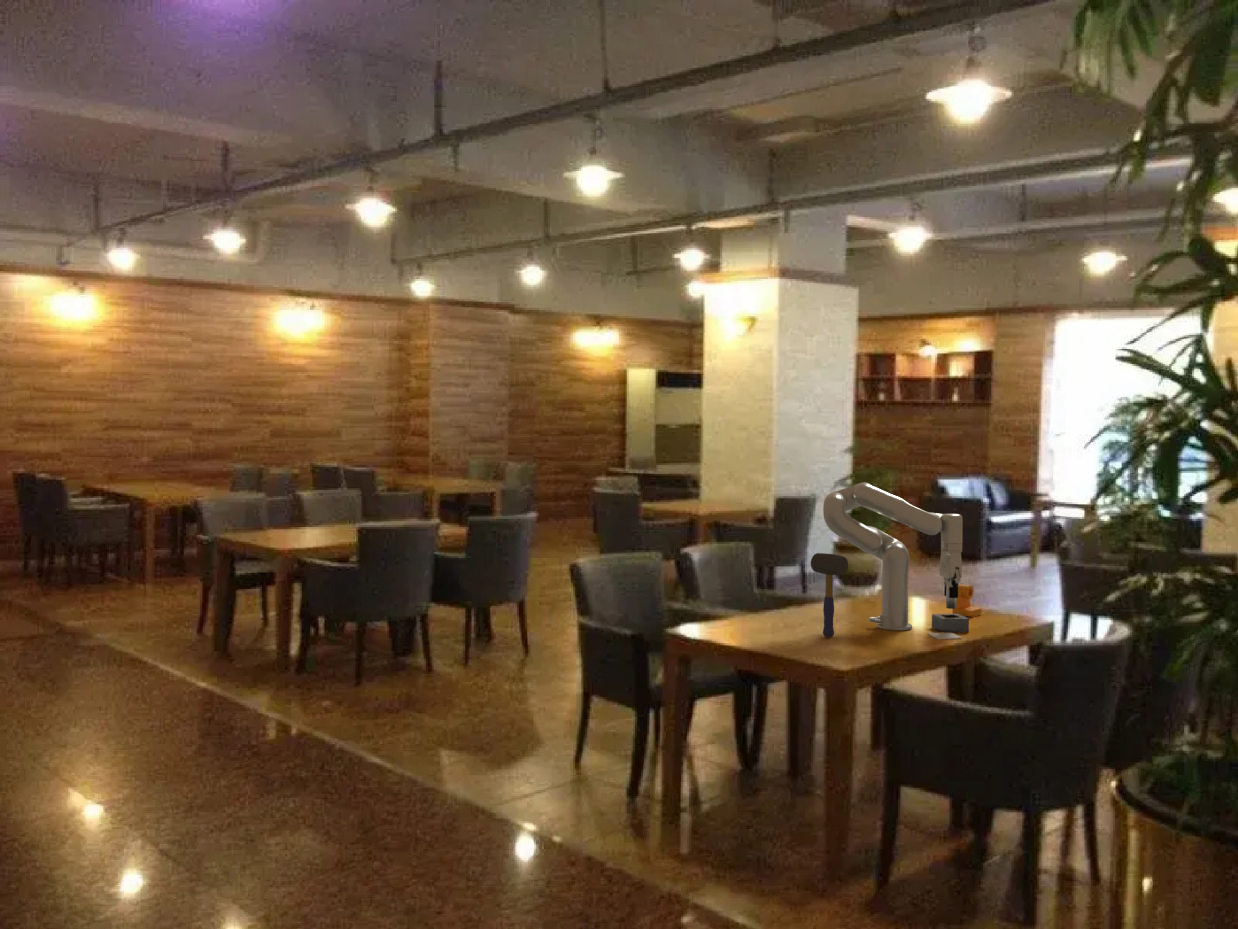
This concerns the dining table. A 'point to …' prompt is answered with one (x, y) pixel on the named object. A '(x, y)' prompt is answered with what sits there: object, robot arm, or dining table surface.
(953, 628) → the chuck block
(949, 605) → the steel peg
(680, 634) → the dining table surface
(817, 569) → the rubber mallet
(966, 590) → the bracket
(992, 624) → the dining table surface
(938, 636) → the pad
